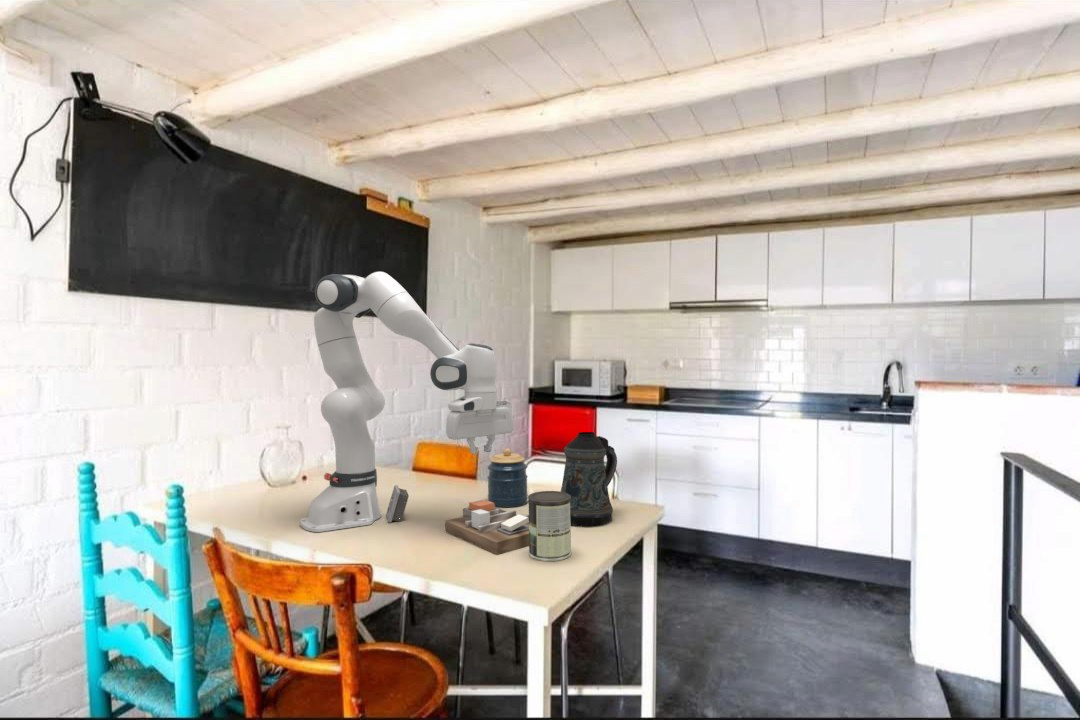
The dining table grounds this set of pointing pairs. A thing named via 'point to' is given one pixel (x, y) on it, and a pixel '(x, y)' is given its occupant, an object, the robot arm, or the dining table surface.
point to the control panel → (490, 531)
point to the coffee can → (549, 525)
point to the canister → (507, 480)
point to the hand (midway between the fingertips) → (481, 452)
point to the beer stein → (589, 479)
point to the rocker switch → (514, 522)
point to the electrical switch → (397, 504)
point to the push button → (481, 505)
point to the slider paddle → (480, 518)
